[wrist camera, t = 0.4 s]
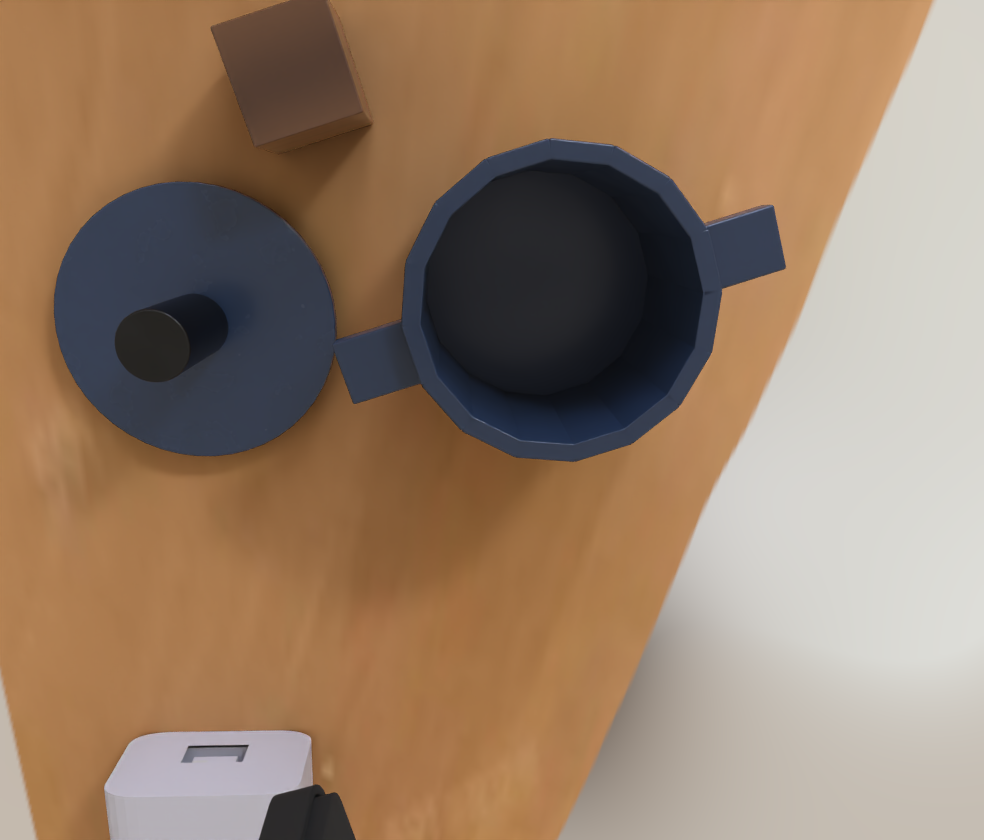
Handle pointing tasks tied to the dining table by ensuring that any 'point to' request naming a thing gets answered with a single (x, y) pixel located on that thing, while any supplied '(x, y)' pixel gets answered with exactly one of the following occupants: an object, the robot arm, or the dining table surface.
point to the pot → (560, 300)
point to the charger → (203, 783)
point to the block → (292, 74)
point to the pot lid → (195, 318)
